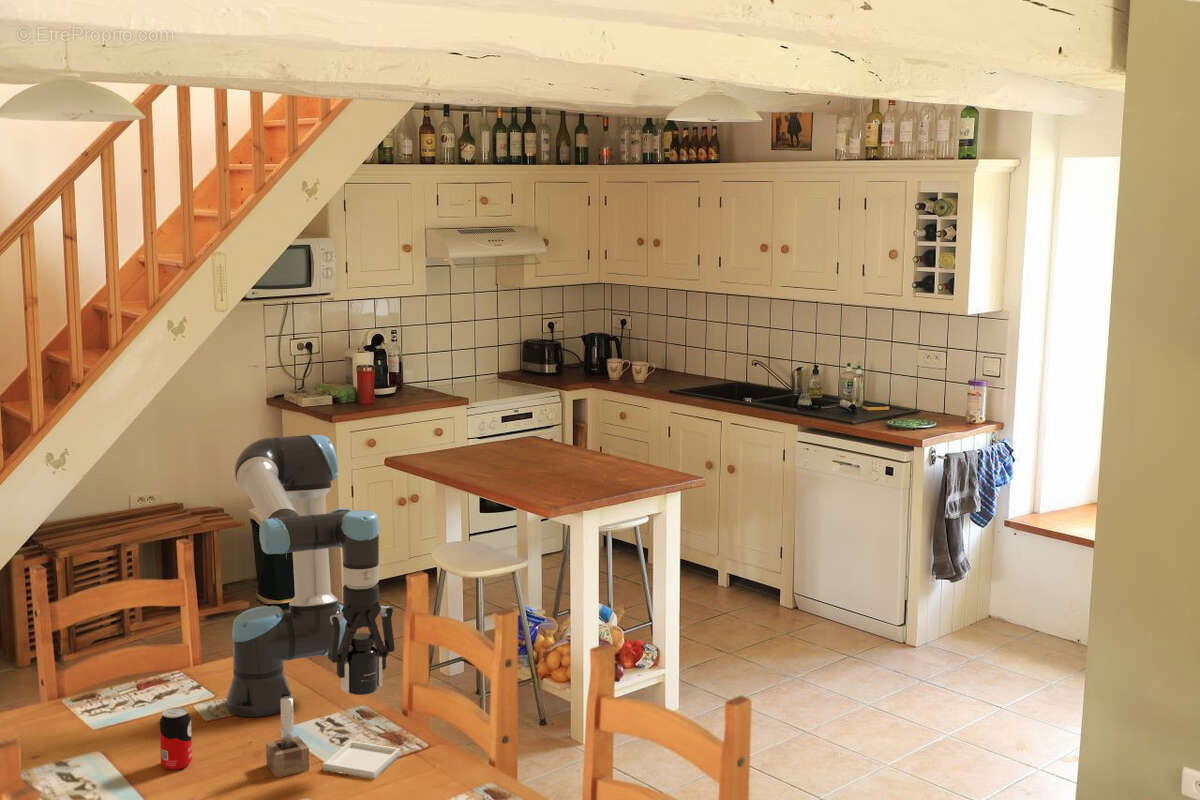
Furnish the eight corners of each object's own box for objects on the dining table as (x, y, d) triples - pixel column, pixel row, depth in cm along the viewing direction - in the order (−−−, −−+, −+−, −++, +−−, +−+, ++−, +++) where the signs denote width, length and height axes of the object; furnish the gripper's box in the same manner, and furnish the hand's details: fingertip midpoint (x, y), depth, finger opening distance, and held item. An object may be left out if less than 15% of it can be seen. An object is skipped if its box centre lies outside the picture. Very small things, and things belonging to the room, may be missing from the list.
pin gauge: (281, 763, 254) (280, 701, 252) (281, 758, 257) (280, 696, 255) (293, 762, 255) (293, 700, 253) (294, 757, 257) (293, 695, 255)
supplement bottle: (370, 697, 252) (370, 643, 251) (340, 694, 254) (339, 640, 252) (383, 685, 259) (382, 632, 257) (353, 682, 260) (352, 629, 259)
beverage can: (174, 774, 252) (172, 720, 250) (154, 766, 255) (152, 713, 253) (198, 763, 257) (197, 710, 255) (179, 756, 260) (177, 703, 258)
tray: (322, 770, 255) (322, 763, 255) (350, 747, 266) (350, 740, 266) (374, 779, 251) (374, 772, 251) (400, 755, 263) (400, 748, 263)
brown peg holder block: (266, 764, 257) (266, 742, 256) (298, 757, 261) (297, 735, 260) (276, 777, 251) (276, 755, 250) (309, 770, 255) (308, 747, 254)
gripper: (322, 595, 245) (323, 702, 248) (411, 582, 255) (411, 684, 259) (309, 586, 251) (311, 690, 254) (397, 573, 261) (397, 673, 265)
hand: (361, 687), depth 256 cm, fingers closed on supplement bottle, 7 cm apart
